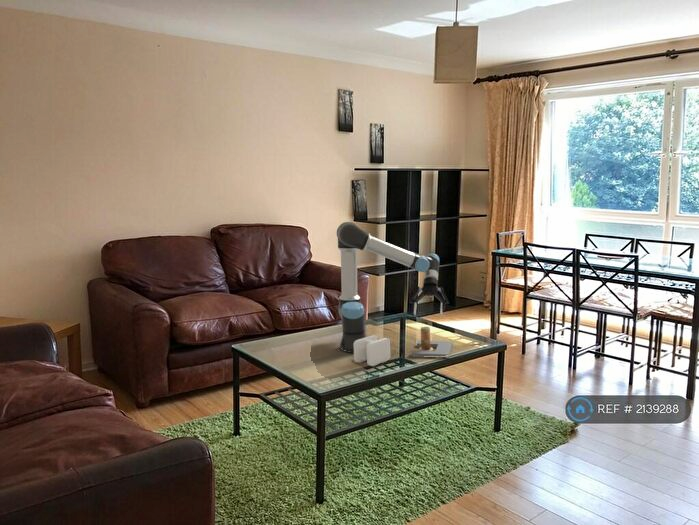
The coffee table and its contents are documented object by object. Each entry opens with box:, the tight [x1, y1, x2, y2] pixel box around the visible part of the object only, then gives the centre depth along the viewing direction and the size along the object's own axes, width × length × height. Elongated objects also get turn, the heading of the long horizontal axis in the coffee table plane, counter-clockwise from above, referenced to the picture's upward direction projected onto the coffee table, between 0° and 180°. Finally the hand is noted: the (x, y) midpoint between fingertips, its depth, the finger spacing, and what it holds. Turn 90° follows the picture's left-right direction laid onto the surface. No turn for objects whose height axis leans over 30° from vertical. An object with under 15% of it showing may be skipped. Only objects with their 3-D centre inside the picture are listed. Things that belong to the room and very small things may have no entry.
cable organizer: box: [353, 334, 391, 367], centre depth 278 cm, size 15×11×12 cm
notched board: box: [411, 340, 454, 358], centre depth 290 cm, size 18×20×2 cm
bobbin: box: [418, 326, 434, 351], centre depth 290 cm, size 7×7×12 cm
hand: (427, 314), depth 296 cm, fingers open, 13 cm apart
